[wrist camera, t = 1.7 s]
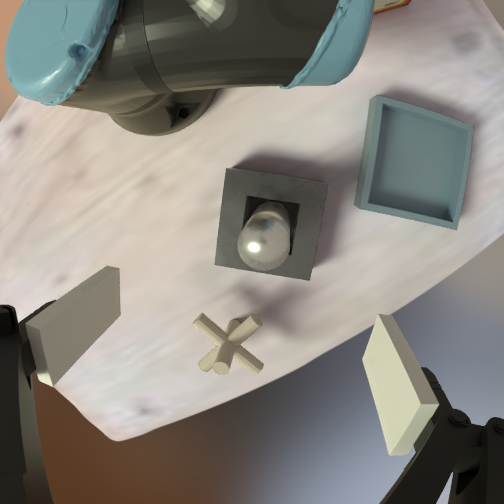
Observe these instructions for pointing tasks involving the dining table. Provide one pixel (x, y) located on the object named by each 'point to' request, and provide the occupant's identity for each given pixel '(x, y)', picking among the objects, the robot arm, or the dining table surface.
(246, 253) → the shiny metal cylinder
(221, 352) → the pipe connector
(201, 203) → the dining table surface
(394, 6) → the baking soda box
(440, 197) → the parts tray
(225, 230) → the block
